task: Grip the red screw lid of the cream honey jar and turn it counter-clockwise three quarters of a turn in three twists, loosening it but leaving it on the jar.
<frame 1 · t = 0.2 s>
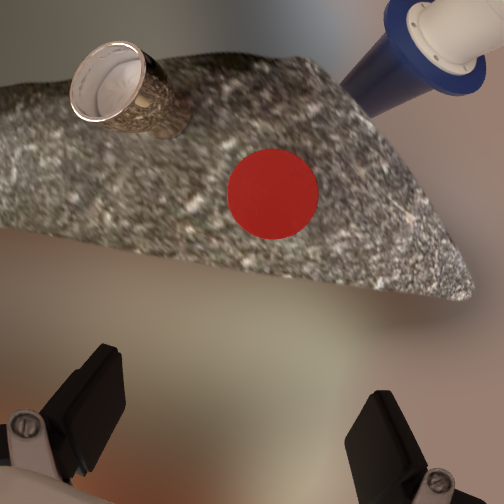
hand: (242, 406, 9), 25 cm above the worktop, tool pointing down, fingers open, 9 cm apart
red lid: (272, 194, 22), point 11 cm above the worktop, screwed on, not yet turned
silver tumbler: (167, 115, 30), on the worktop
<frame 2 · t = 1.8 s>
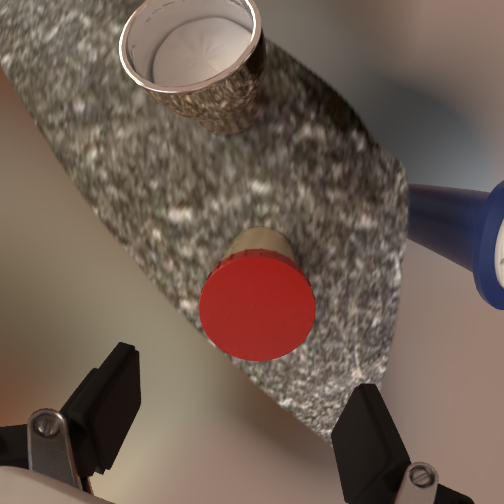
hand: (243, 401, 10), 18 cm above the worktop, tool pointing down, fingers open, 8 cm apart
red lid: (257, 310, 17), point 11 cm above the worktop, screwed on, not yet turned
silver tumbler: (227, 104, 24), on the worktop
jar: (260, 260, 28), on the worktop
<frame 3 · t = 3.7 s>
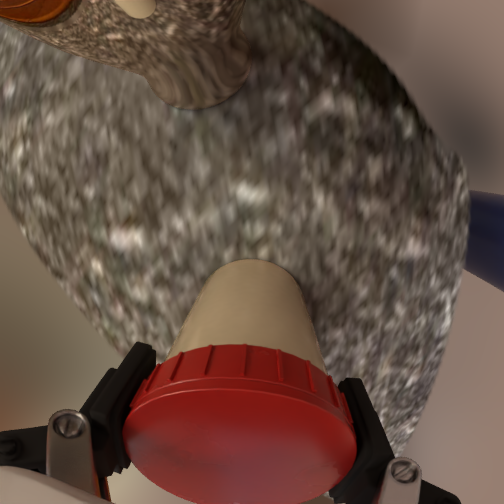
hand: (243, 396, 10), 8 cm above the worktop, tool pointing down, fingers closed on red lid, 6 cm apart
red lid: (237, 460, 7), point 11 cm above the worktop, screwed on, not yet turned, touching gripper
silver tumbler: (199, 63, 14), on the worktop
jar: (251, 310, 17), on the worktop
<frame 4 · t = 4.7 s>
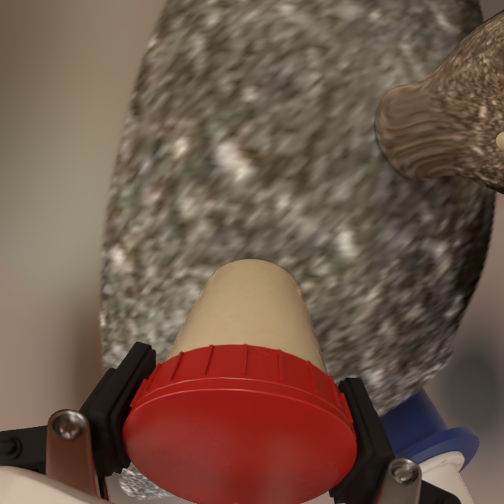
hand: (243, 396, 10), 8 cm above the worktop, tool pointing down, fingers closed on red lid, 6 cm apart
red lid: (238, 460, 7), point 11 cm above the worktop, turned 54° so far, risen 0.1 cm, still on its thread, touching gripper
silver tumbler: (416, 132, 14), on the worktop
jar: (251, 310, 17), on the worktop
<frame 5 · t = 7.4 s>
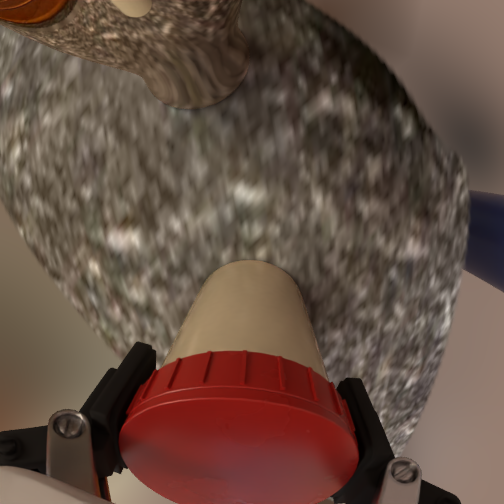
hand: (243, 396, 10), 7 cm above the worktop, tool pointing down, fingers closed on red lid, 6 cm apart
red lid: (237, 468, 7), point 11 cm above the worktop, turned 90° so far, risen 0.1 cm, still on its thread, touching gripper
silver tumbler: (196, 63, 14), on the worktop
jar: (250, 311, 17), on the worktop
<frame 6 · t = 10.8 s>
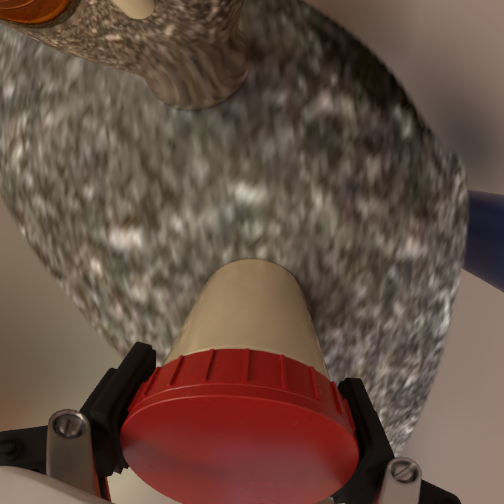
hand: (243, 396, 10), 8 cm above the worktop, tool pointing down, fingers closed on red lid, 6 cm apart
red lid: (237, 466, 7), point 11 cm above the worktop, turned 177° so far, risen 0.3 cm, still on its thread, touching gripper
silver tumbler: (198, 64, 14), on the worktop
jar: (252, 310, 17), on the worktop
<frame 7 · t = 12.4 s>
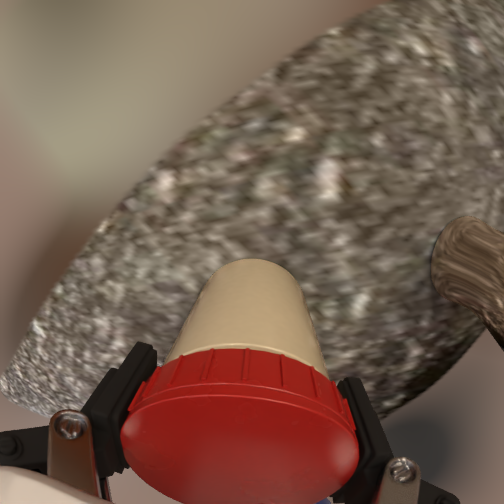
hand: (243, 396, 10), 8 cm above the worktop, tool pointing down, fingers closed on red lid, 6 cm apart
red lid: (237, 466, 7), point 11 cm above the worktop, turned 265° so far, risen 0.4 cm, still on its thread, touching gripper
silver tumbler: (461, 258, 16), on the worktop
jar: (252, 309, 17), on the worktop
when the fingers open (8 cm above the worktop, at t = 12.7 s): red lid stays where it is, point 11 cm above the worktop.
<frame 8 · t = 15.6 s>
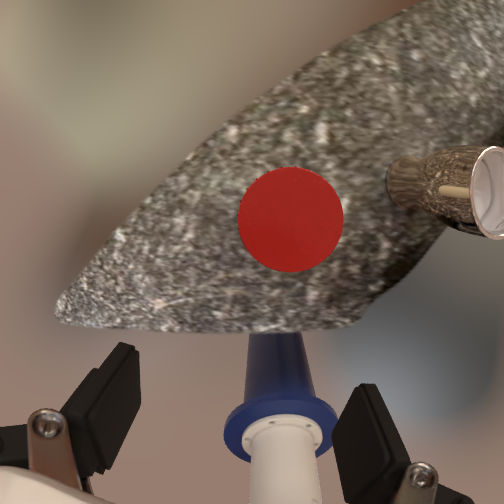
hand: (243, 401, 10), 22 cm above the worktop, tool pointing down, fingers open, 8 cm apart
red lid: (291, 220, 19), point 11 cm above the worktop, turned 265° so far, risen 0.4 cm, still on its thread
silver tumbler: (408, 182, 29), on the worktop
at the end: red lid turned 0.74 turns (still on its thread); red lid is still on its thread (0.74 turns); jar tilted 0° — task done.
